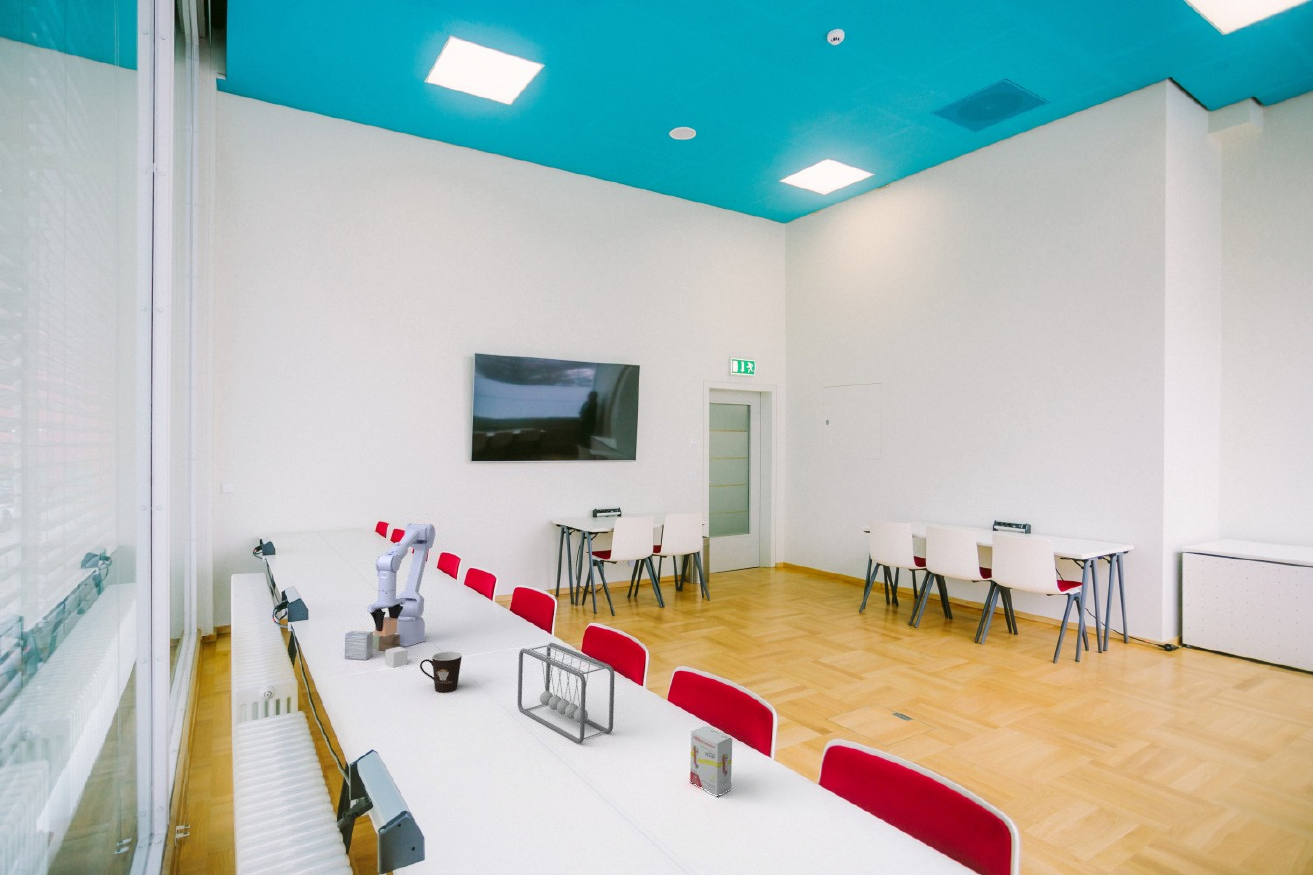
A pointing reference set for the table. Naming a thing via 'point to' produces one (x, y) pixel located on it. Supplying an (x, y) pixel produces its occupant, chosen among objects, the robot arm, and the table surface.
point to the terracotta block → (388, 627)
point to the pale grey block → (396, 657)
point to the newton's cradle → (562, 704)
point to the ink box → (711, 760)
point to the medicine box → (358, 645)
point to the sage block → (375, 641)
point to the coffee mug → (445, 671)
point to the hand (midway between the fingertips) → (386, 628)
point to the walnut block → (389, 642)
